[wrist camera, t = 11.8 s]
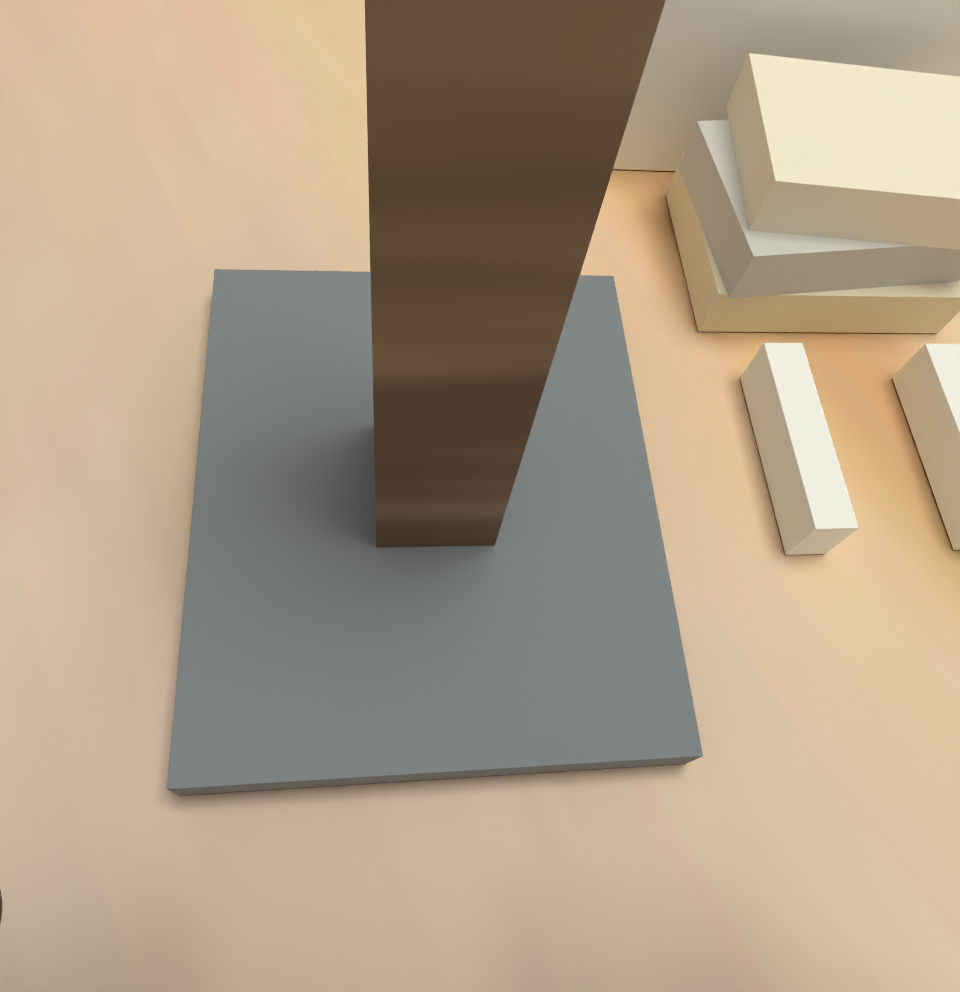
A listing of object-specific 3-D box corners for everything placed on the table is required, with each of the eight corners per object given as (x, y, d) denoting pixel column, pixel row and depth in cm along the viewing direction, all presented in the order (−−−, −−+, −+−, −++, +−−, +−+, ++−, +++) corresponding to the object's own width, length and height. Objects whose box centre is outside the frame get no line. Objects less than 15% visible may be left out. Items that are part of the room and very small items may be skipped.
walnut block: (494, 545, 17) (696, -97, 6) (376, 547, 17) (361, -126, 6) (485, 424, 19) (636, -287, 7) (375, 424, 18) (363, -316, 7)
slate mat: (686, 763, 17) (702, 755, 16) (179, 795, 15) (166, 789, 14) (604, 301, 22) (613, 275, 21) (221, 296, 21) (214, 269, 20)
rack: (1078, 546, 20) (1330, 417, 15) (689, 557, 19) (811, 420, 13) (910, 156, 26) (1047, -37, 21) (606, 145, 25) (668, -63, 19)
